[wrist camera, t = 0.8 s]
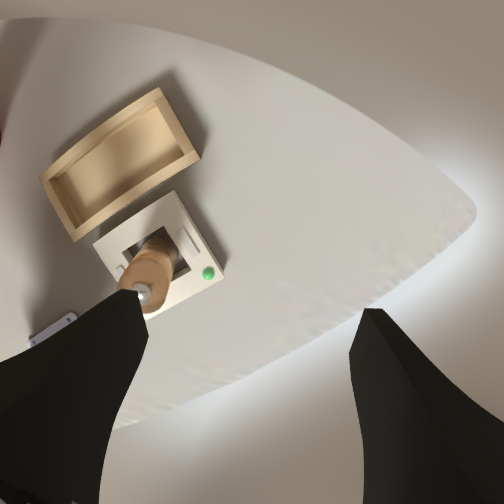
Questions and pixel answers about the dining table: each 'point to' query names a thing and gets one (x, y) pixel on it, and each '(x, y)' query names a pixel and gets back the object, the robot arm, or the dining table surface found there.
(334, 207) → the dining table surface
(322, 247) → the dining table surface
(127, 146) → the wooden trough
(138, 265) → the battery cell
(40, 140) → the dining table surface
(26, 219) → the dining table surface
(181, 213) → the white square frame
